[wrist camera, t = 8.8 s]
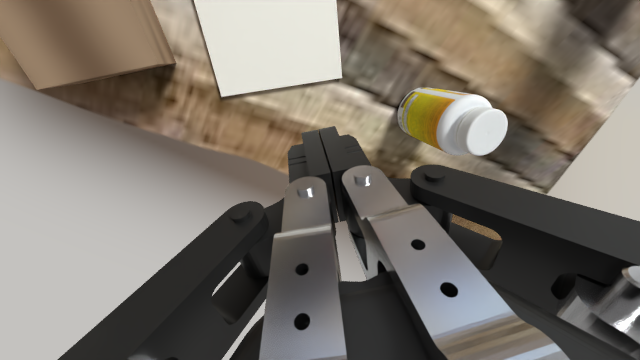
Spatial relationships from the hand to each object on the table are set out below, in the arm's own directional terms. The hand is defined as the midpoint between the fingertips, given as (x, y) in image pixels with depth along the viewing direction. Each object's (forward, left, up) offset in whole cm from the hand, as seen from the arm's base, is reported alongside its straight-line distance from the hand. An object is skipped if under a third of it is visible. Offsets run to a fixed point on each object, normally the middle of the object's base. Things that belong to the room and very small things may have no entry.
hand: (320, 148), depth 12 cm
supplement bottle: (-15, +4, -16) cm, 23 cm away
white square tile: (0, -7, -16) cm, 18 cm away
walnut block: (+13, -7, -16) cm, 22 cm away
